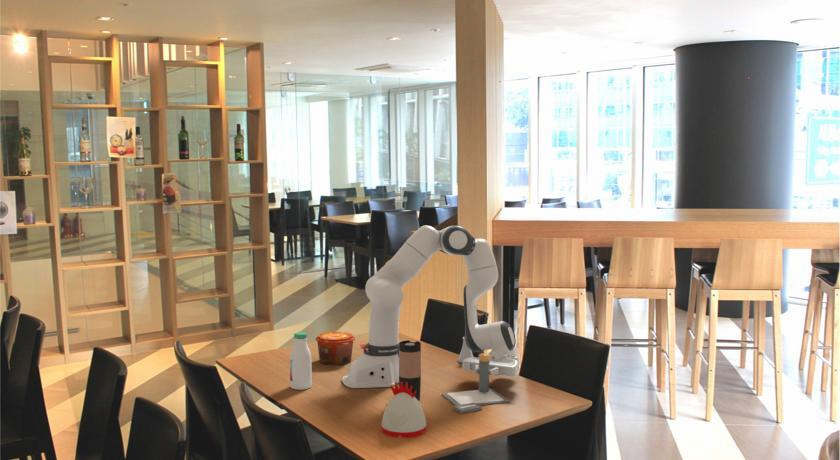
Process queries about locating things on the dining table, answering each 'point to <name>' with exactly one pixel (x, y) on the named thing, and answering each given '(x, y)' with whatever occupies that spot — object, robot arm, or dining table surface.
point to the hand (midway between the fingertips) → (483, 372)
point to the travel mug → (410, 366)
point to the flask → (464, 352)
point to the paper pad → (475, 397)
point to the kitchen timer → (403, 414)
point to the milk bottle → (300, 363)
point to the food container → (335, 347)
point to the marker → (484, 372)
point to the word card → (467, 408)
